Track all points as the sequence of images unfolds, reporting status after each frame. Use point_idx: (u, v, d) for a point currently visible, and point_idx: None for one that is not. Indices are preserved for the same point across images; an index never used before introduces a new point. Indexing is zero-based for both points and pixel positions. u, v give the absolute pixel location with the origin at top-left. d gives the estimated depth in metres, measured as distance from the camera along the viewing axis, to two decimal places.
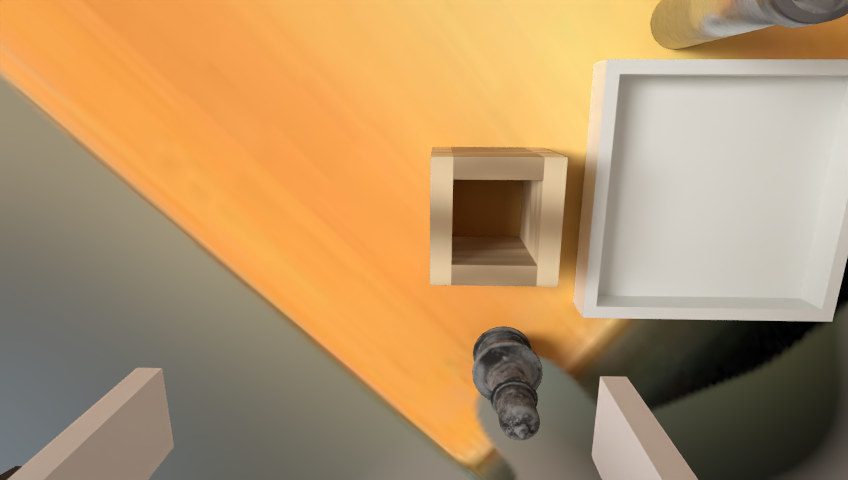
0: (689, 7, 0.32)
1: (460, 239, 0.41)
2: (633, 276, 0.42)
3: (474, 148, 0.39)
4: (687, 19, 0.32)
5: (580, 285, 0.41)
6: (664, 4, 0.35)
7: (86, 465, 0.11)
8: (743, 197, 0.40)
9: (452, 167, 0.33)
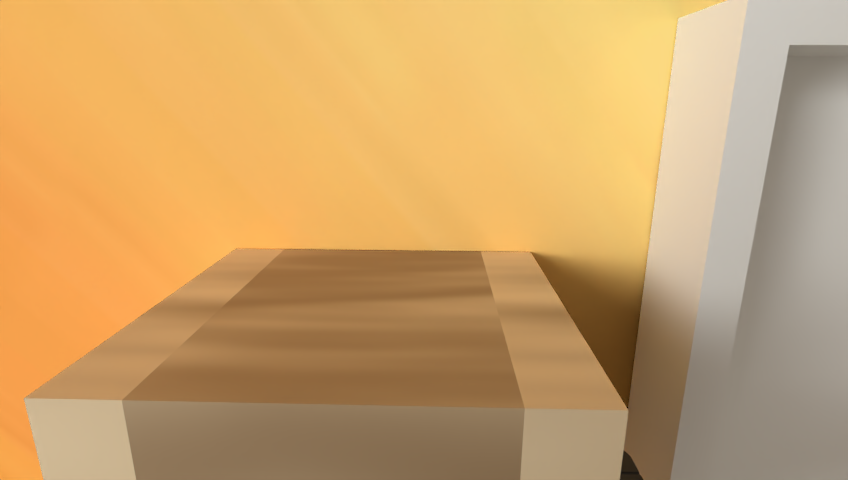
0: None
1: None
2: None
3: (337, 261, 0.14)
4: None
5: None
6: None
7: None
8: None
9: (126, 440, 0.08)
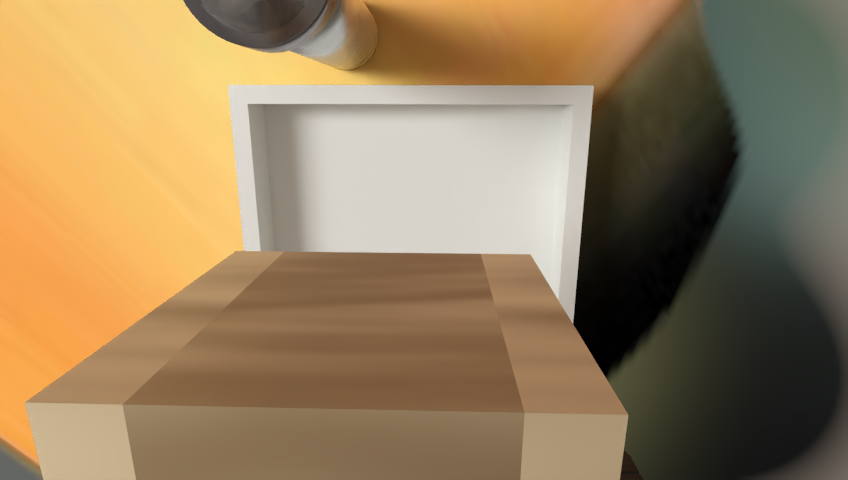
0: None
1: None
2: None
3: (337, 263, 0.14)
4: None
5: None
6: None
7: None
8: None
9: (126, 444, 0.08)
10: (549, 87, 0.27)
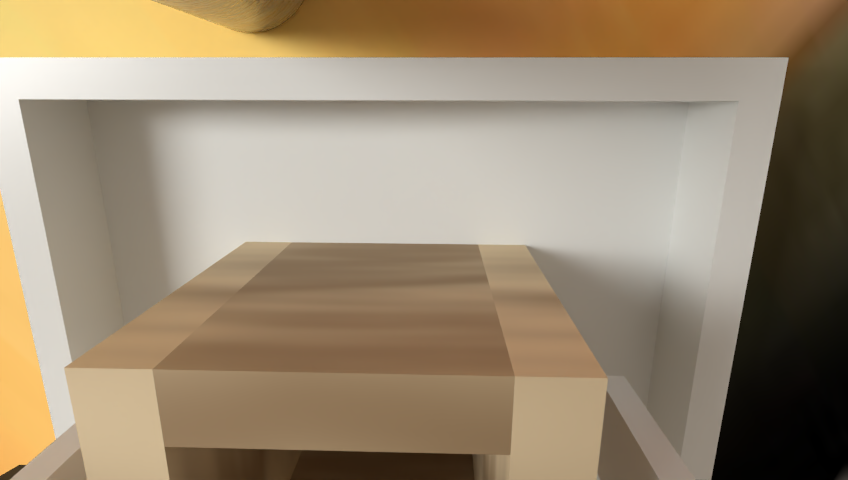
0: None
1: (323, 463, 0.17)
2: None
3: (342, 252, 0.15)
4: None
5: None
6: None
7: None
8: None
9: (155, 406, 0.08)
10: (687, 63, 0.12)
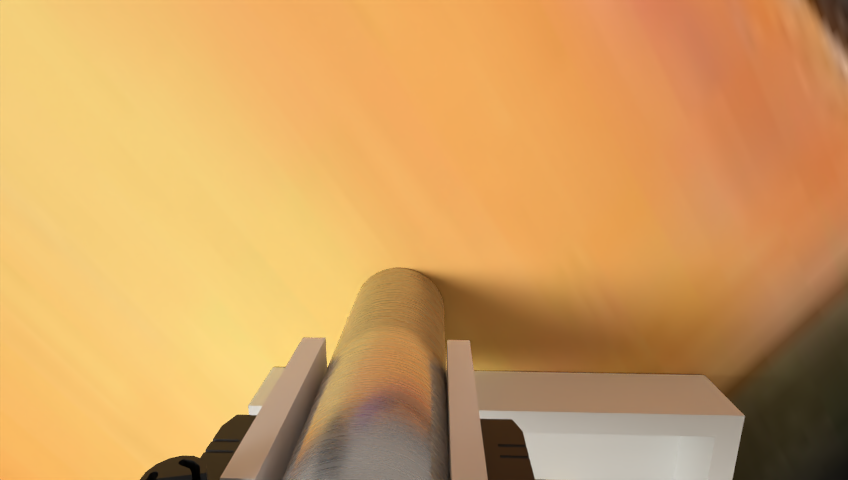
0: None
1: None
2: None
3: None
4: None
5: None
6: None
7: (298, 413, 0.13)
8: None
9: None
10: (684, 417, 0.20)
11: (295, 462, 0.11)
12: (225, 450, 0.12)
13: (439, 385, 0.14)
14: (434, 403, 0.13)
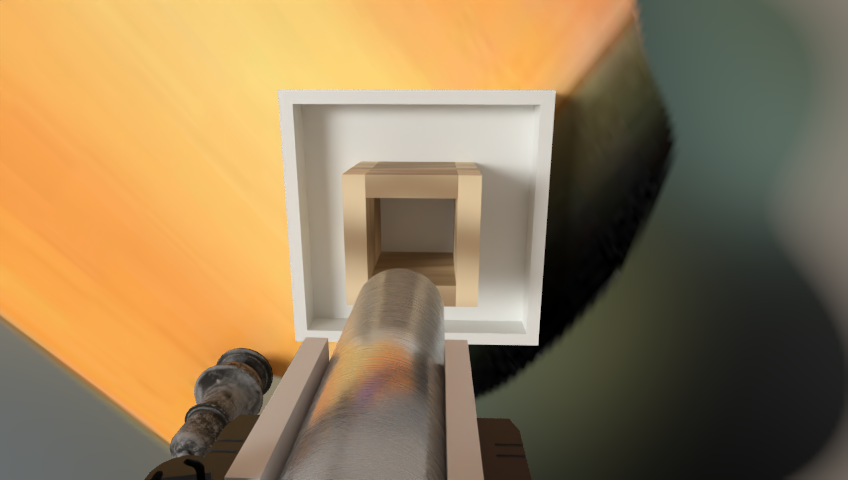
0: None
1: (390, 255, 0.40)
2: None
3: (401, 163, 0.38)
4: None
5: None
6: (353, 306, 0.21)
7: (301, 413, 0.13)
8: (451, 222, 0.40)
9: (364, 185, 0.32)
10: (522, 91, 0.35)
11: (292, 460, 0.11)
12: (229, 450, 0.12)
13: (437, 385, 0.14)
14: (431, 403, 0.13)
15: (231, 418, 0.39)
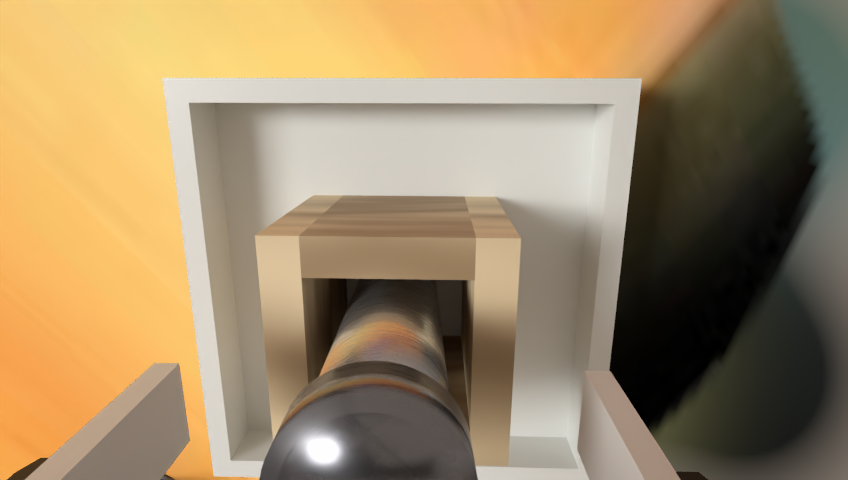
0: None
1: None
2: None
3: (377, 199, 0.23)
4: None
5: None
6: (358, 281, 0.24)
7: (110, 456, 0.12)
8: (458, 290, 0.26)
9: (298, 255, 0.17)
10: (583, 81, 0.20)
11: (328, 365, 0.14)
12: None
13: (436, 326, 0.18)
14: (433, 334, 0.16)
15: None
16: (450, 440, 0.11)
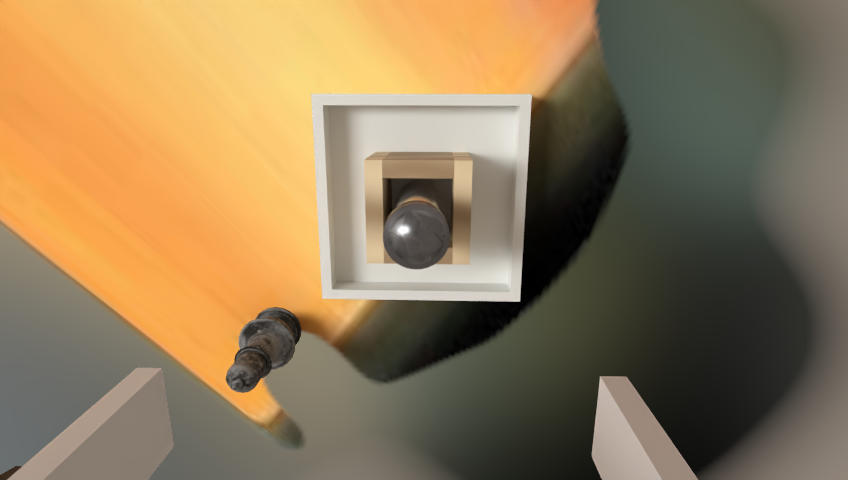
0: None
1: None
2: (371, 266, 0.52)
3: (409, 152, 0.47)
4: None
5: None
6: (399, 194, 0.48)
7: (86, 464, 0.11)
8: (449, 201, 0.50)
9: (381, 168, 0.41)
10: (505, 95, 0.44)
11: None
12: None
13: (437, 204, 0.42)
14: (436, 205, 0.41)
15: (271, 359, 0.48)
16: (441, 219, 0.35)
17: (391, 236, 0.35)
